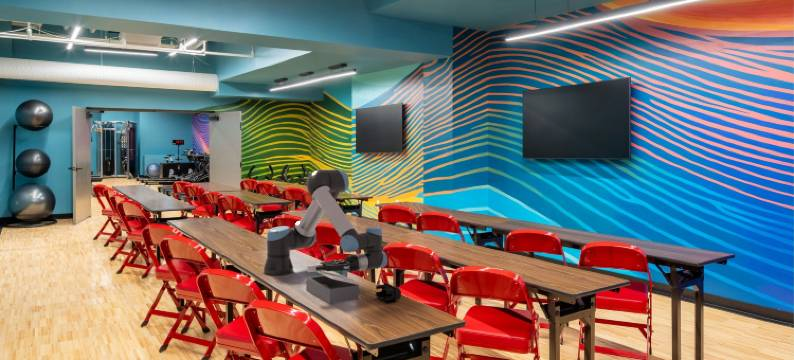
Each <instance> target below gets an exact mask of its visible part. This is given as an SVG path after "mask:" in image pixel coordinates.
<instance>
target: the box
mask: <svg viewBox="0 0 794 360" xmlns="http://www.w3.org/2000/svg"><path fill="white" fill-rule="evenodd" d="M333 272H336V273H338V274H340V275H343V276H345V277H347V278H348V271H347V270H340V271H333ZM321 275H322V274H320V273H318V272H316V276H321Z"/></svg>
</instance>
